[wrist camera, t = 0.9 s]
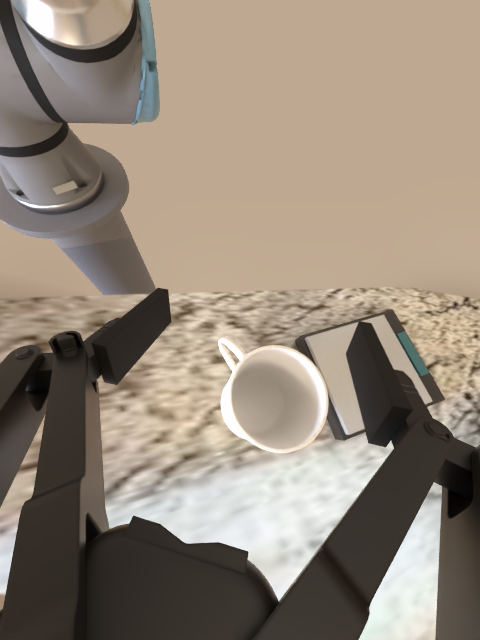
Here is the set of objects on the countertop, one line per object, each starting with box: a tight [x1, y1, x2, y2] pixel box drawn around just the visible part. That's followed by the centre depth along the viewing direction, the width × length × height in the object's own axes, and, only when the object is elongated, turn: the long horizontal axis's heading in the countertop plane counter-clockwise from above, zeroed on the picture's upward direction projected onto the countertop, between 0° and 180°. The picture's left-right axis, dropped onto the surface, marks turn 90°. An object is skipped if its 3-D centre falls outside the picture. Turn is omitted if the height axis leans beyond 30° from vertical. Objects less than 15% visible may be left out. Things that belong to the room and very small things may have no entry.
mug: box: [218, 336, 328, 453], centre depth 24 cm, size 12×8×12 cm
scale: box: [296, 310, 445, 440], centre depth 31 cm, size 13×15×3 cm
